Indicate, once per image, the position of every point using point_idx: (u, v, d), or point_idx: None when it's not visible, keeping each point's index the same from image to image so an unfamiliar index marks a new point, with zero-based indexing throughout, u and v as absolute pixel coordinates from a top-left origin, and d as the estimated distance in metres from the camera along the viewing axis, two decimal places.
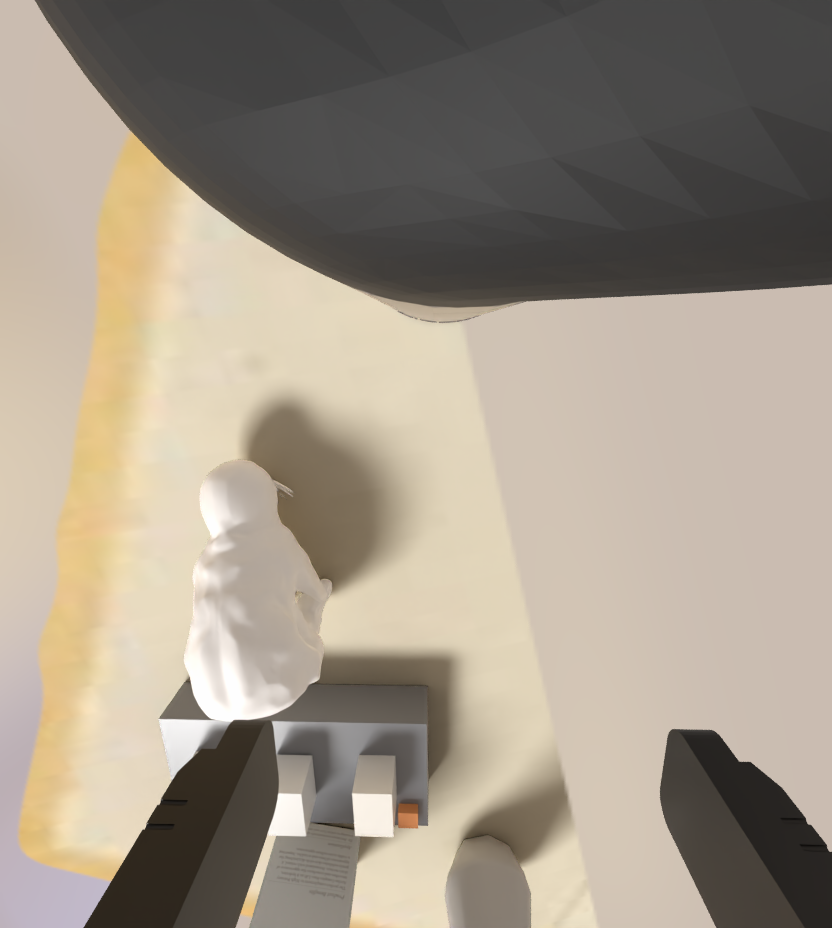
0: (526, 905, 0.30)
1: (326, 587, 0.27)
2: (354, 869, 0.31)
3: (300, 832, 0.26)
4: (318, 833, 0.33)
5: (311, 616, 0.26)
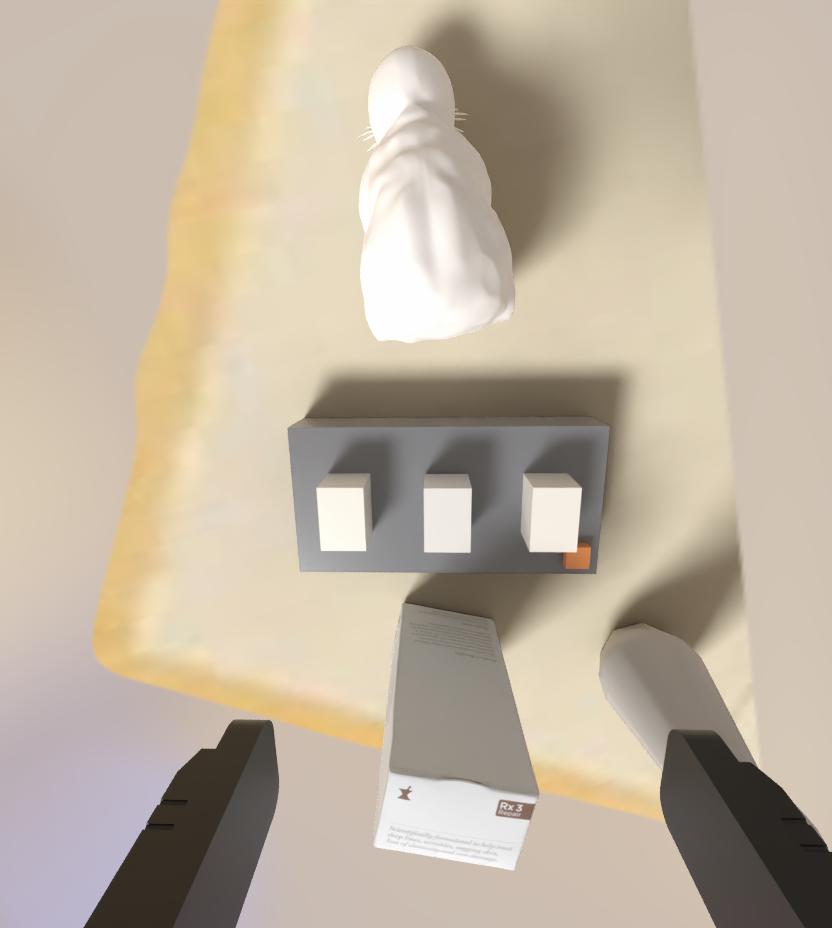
0: (709, 675, 0.25)
1: None
2: (498, 643, 0.26)
3: (464, 546, 0.22)
4: (448, 615, 0.28)
5: None
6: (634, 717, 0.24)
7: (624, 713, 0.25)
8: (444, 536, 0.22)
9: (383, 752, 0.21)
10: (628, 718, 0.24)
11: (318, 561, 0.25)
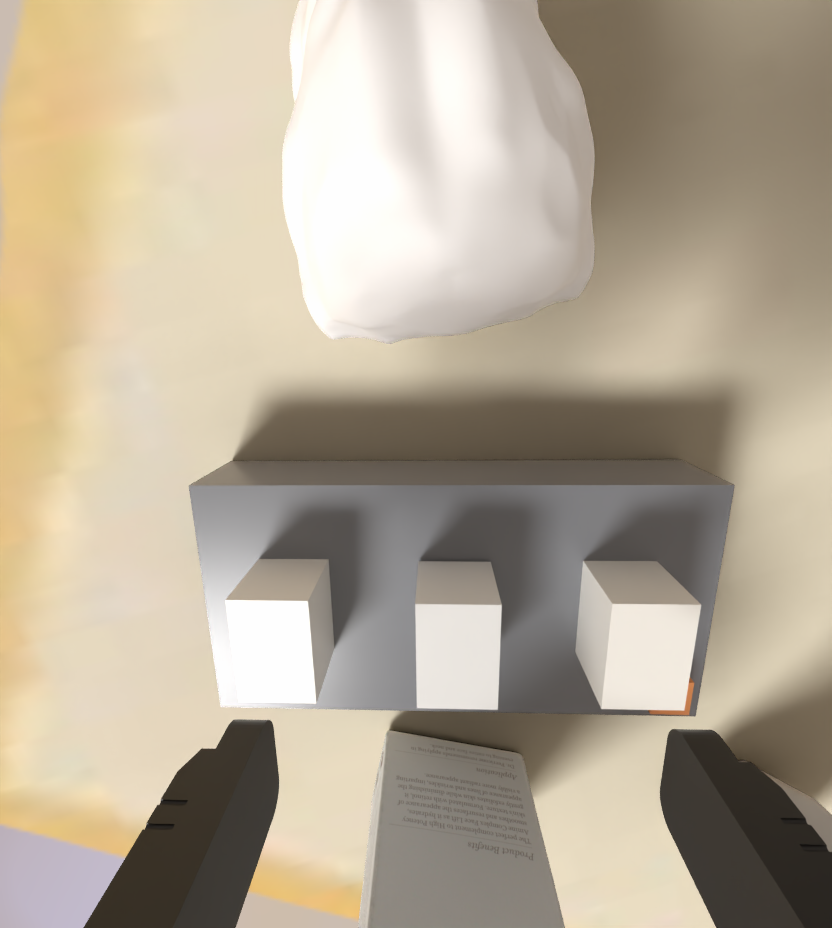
0: None
1: None
2: (534, 811, 0.17)
3: (487, 700, 0.12)
4: (455, 753, 0.19)
5: None
6: None
7: None
8: (452, 683, 0.12)
9: None
10: None
11: None
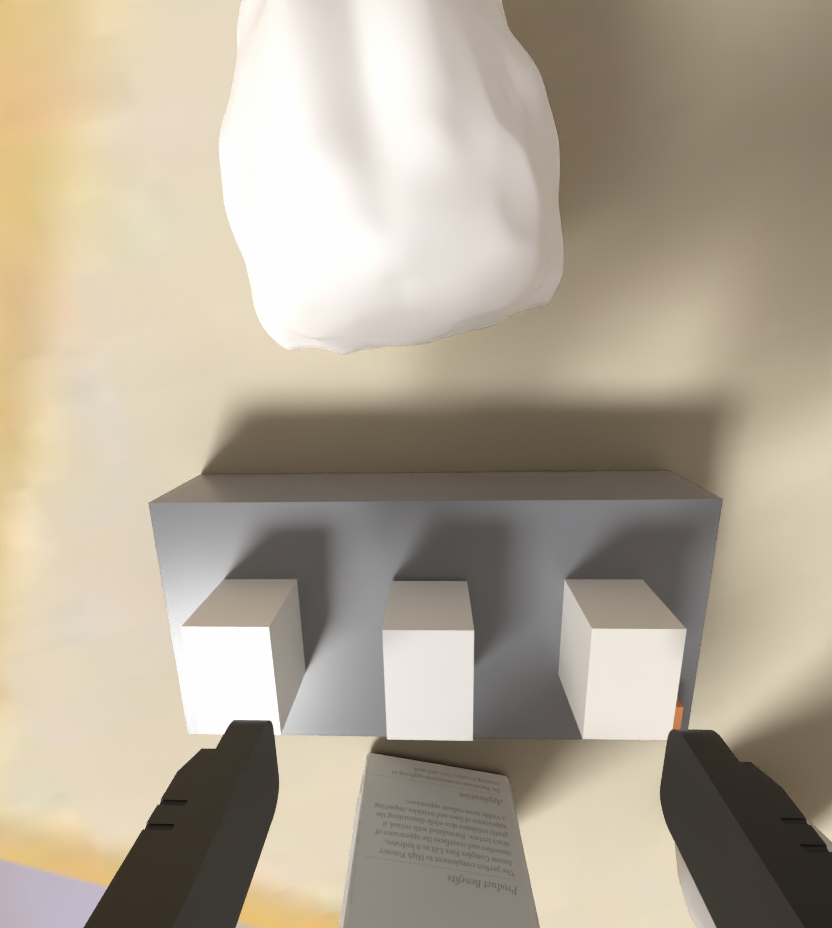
0: None
1: None
2: (519, 839, 0.16)
3: (462, 730, 0.12)
4: (438, 777, 0.18)
5: None
6: None
7: None
8: (423, 713, 0.12)
9: None
10: None
11: None
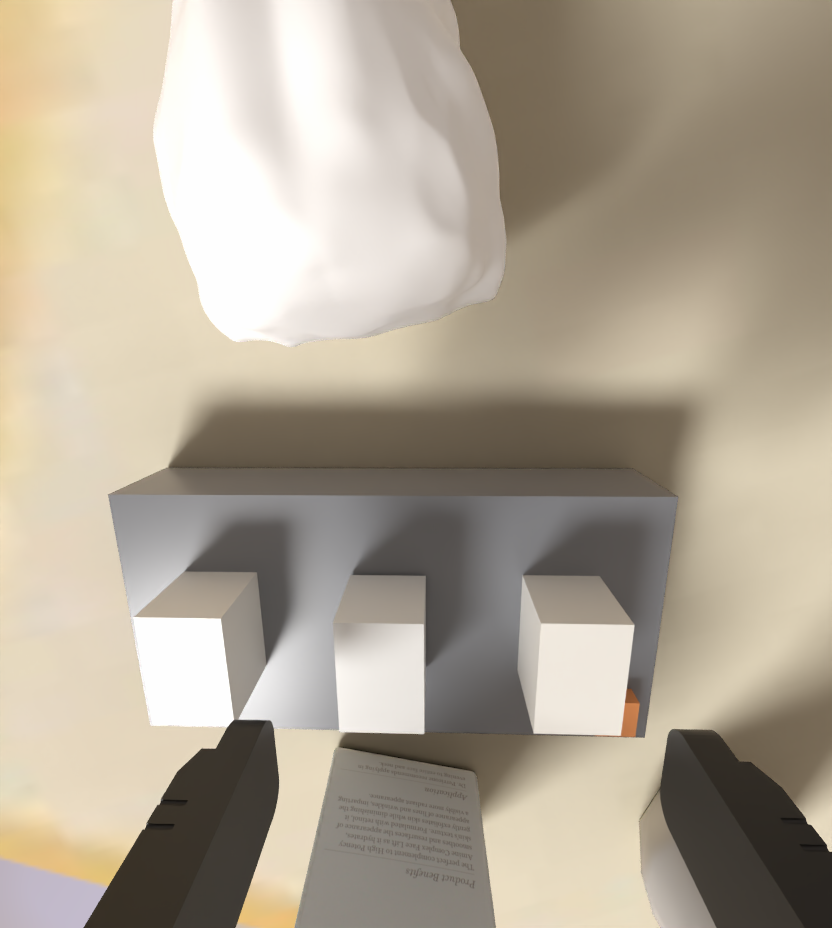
0: None
1: None
2: (481, 834, 0.16)
3: (413, 724, 0.12)
4: (404, 772, 0.18)
5: None
6: None
7: None
8: (375, 706, 0.12)
9: None
10: None
11: None
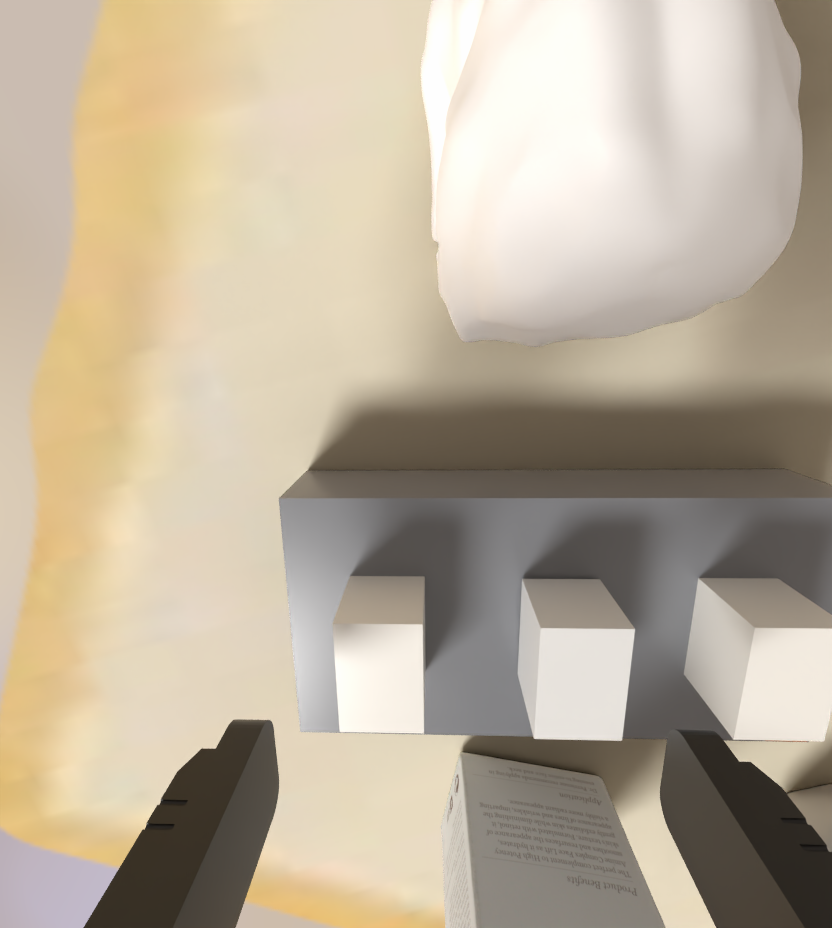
0: None
1: None
2: (626, 840, 0.16)
3: (612, 730, 0.12)
4: (534, 777, 0.18)
5: None
6: None
7: None
8: (574, 712, 0.12)
9: None
10: None
11: (331, 716, 0.15)
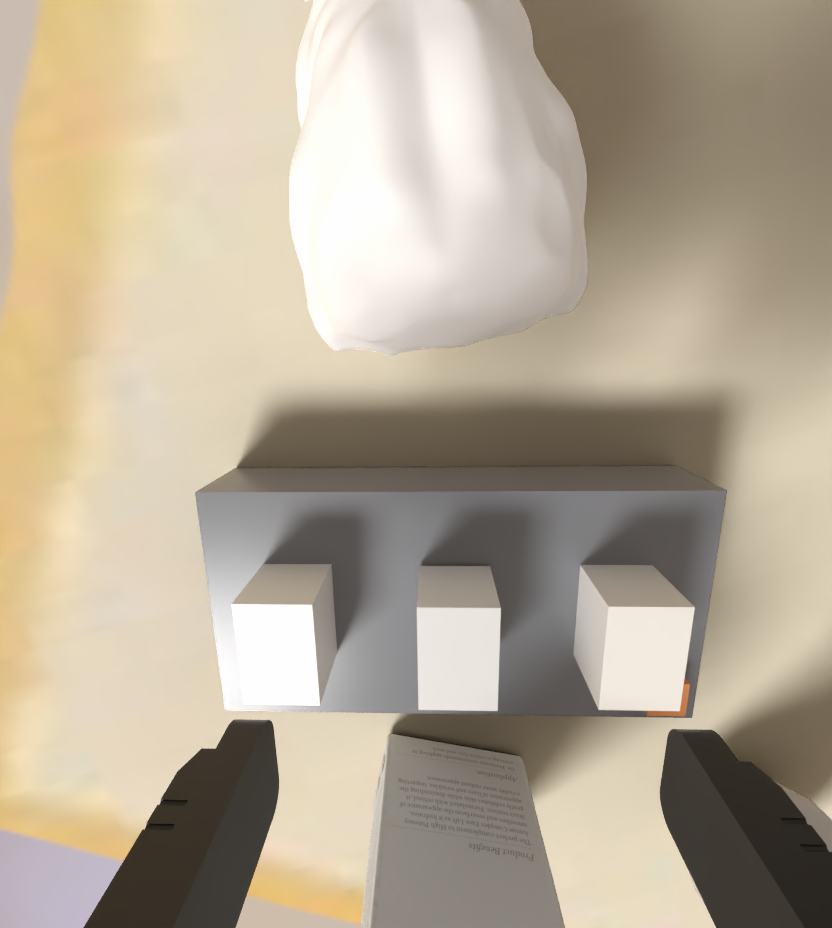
0: None
1: None
2: (534, 812, 0.17)
3: (488, 701, 0.13)
4: (456, 756, 0.19)
5: None
6: None
7: None
8: (453, 685, 0.13)
9: None
10: None
11: None
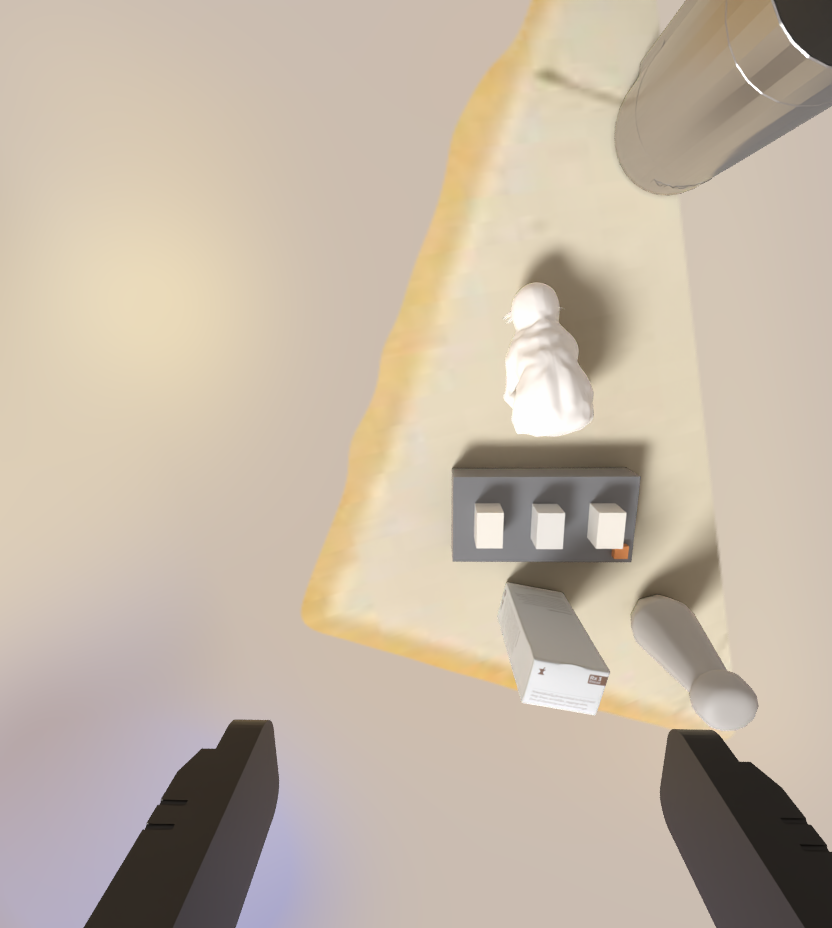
0: (699, 623, 0.42)
1: None
2: (570, 605, 0.43)
3: (559, 545, 0.39)
4: (536, 589, 0.45)
5: None
6: (654, 646, 0.41)
7: (648, 645, 0.41)
8: (548, 540, 0.39)
9: (516, 660, 0.38)
10: (651, 647, 0.41)
11: (464, 555, 0.42)
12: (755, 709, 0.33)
